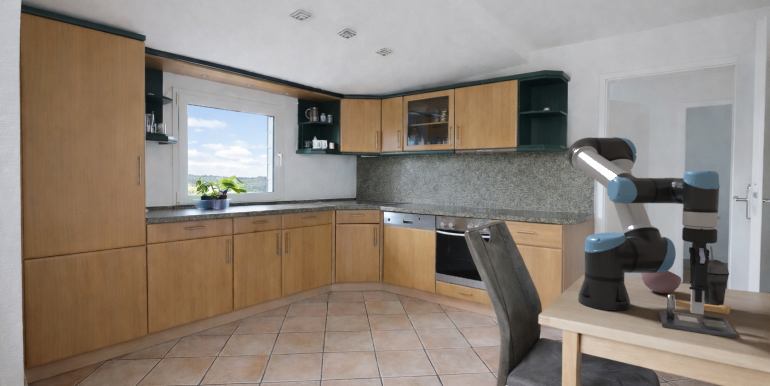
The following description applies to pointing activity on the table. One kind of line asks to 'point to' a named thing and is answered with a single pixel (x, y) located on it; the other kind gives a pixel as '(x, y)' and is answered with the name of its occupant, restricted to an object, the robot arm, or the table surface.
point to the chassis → (694, 321)
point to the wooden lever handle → (706, 307)
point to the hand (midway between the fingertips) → (696, 312)
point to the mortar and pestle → (661, 281)
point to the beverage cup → (715, 282)
